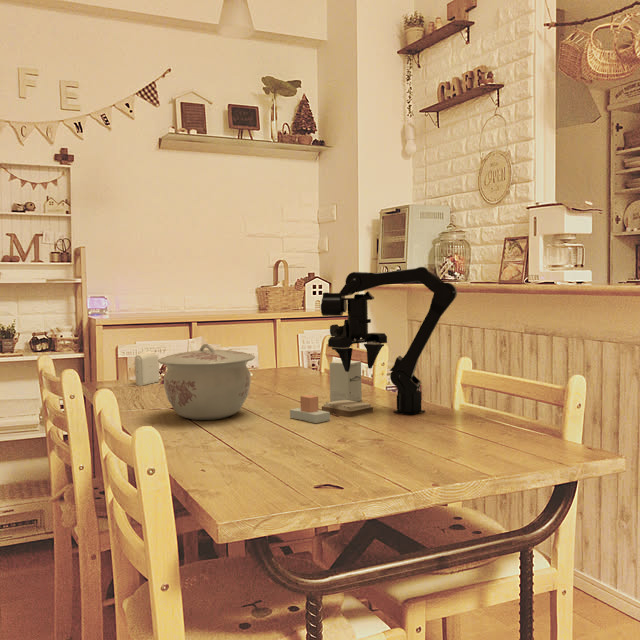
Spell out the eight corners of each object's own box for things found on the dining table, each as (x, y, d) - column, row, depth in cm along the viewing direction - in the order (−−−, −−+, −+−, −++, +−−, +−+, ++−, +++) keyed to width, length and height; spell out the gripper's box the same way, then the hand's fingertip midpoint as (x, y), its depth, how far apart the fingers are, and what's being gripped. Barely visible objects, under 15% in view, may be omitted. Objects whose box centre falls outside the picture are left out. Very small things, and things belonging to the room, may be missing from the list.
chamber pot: (239, 427, 180) (237, 348, 179) (142, 424, 186) (139, 348, 184) (268, 406, 208) (266, 338, 206) (183, 405, 213) (181, 339, 212)
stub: (330, 420, 185) (329, 397, 185) (316, 423, 182) (315, 399, 181) (303, 414, 193) (303, 392, 193) (290, 417, 190) (289, 395, 190)
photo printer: (142, 386, 255) (141, 353, 254) (133, 385, 257) (132, 352, 256) (161, 382, 264) (160, 350, 263) (152, 381, 266) (151, 349, 265)
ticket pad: (373, 412, 195) (373, 403, 195) (350, 417, 190) (350, 408, 189) (344, 407, 204) (344, 398, 204) (321, 411, 198) (321, 402, 198)
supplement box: (349, 404, 208) (348, 363, 207) (329, 402, 213) (328, 362, 212) (362, 401, 214) (361, 360, 213) (343, 399, 218) (342, 359, 218)
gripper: (360, 313, 208) (361, 364, 209) (314, 316, 196) (315, 371, 197) (387, 314, 200) (388, 367, 201) (341, 317, 187) (342, 374, 188)
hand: (358, 370), depth 197 cm, fingers open, 9 cm apart
